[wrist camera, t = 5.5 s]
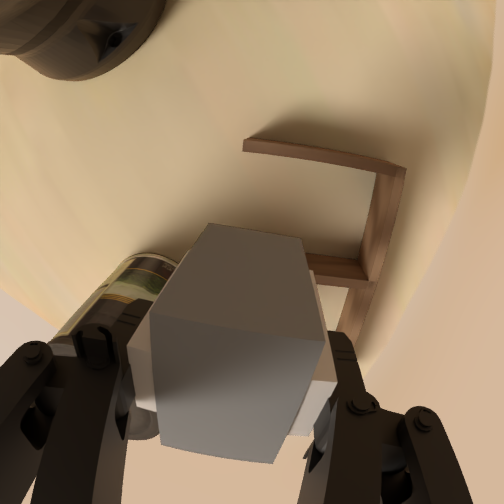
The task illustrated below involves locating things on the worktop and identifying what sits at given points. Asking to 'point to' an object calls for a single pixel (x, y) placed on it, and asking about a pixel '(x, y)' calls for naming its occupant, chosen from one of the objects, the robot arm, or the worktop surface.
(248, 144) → the comb rack
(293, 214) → the worktop surface
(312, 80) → the worktop surface
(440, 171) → the worktop surface
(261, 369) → the grey block
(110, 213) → the worktop surface
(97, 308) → the coffee can
